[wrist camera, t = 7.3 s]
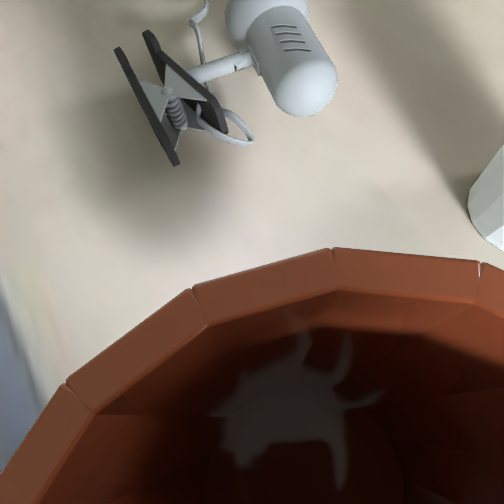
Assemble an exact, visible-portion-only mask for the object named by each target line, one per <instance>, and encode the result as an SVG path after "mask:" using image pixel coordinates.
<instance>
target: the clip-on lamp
mask: <svg viewBox="0 0 504 504" xmlns="http://www.w3.org/2000/svg"><path fill="white" fill-rule="evenodd" d="M204 1H205V6H204V8H203V9H202V10H201V11H200V12H199V13H197V14H196V15H194V16H192V17H191V18H189V20H188V22H189V26H190V27H191V28H193V29H194V31H195V33H196V37H197V41H198V47H199V54H200V61H201V65H199V66H196V67H194V68H191V69H188V70H183V69H182V68H181V67H180V66H179V65H178V64H177V63H175V62H174V61H173V60H172V59H171V58H170V57H168V56H167V55H166V54H165V53H164V52H163V51H162V50H161V48H160V45H159V42H158V40H157V38H156V37H155V35H154V34H153V33H152V32H151V31H150V30H146V31H144V32H142V35H143V38H144V40H145V42H146V45H147V47H148V50H149V52H150V55H151V57H152V59H153V62H154V64H155V67H156V69H157V72H158V74H159V77H160V79H161V81H162V84H163V87H161V86H158V85H155V84H152V83H149V82H146V81H143V80H140V79H137V77H136V76H135V74H134V72H133V70H132V68H131V66H130V64H129V62H128V60H127V58H126V56H125V54H124V52H123V51H122V49H121V48H120V46H119V47H117V48H115V49H113V50H114V52H115V54H116V56H117V58H118V60H119V62H120V64H121V66H122V69H123V71H124V73H125V75H126V77H127V79H128V81H129V83H130V85H131V87H132V89H133V91H134V93H135V95H136V97H137V99H138V101H139V103H140V105H141V107H142V109H143V110H144V112H145V114H146V115H147V117H148V120H149V122H150V124H151V126H152V128H153V130H154V132H155V134H156V136H157V138H158V140H159V142H160V144H161V145H162V147H163V149H164V151H165V152H166V154H167V156H168V158H169V160H170V161H171V163H172V165H173V167H175V166H177V165H179V164H181V163H180V161H179V159H178V156H177V154H176V152H175V151H176V148H177V145H178V142H179V138H180V135H181V132H182V131H184V130H186V129H190V130H196V131H203V132H209V133H210V134H211V135H213V136H215V137H216V138H218V139H220V140H222V141H224V142H227V143H230V144H233V145H238V146H249V145H251V144H252V143H253V142H254V136H253V134H252V132H251V131H250V129H249V128H248V127H247V125H246V124H245V123H244V122H243V121H242V120H241V119H240V118H239V117H238V116H237V115H236V114H235V113H233V112H232V111H230V110H227V109H224V108H222V107H221V106H220V104H219V102H218V101H217V99H216V98H215V97H214V96H213V93H212V90H211V87H210V84H209V80H212V79H215V78H218V77H221V76H224V75H227V74H230V73H233V72H235V71H238V70H241V69H244V68H247V67H249V66H252V65H253V66H254V68H255V70H256V72H257V74H258V76H260V75H261V76H262V78H263V80H264V82H265V84H266V86H267V88H268V89H269V91H270V93H271V95H272V97H273V99H274V101H275V103H276V105H277V106H278V107H279V108H280V109H281V110H282V111H284V112H285V113H286V114H289V115H291V116H294V117H307V116H312V115H314V114H316V113H318V112H320V111H321V110H323V109H324V108H325V107H326V106H327V105H328V104H329V103H330V101H331V100H332V98H333V96H334V94H335V92H336V87H337V81H338V75H337V70H336V67H335V66H334V64H333V62H332V61H331V59H330V57H329V56H328V54H327V53H326V51H325V49H324V48H323V46H322V44H321V43H320V41H319V40H318V38H317V36H316V35H315V33H314V31H313V30H312V28H311V27H310V25H309V23H308V19H309V9H308V5H307V0H228V1H227V5H226V9H225V22H226V30H227V32H228V35H229V37H230V40H231V42H232V44H233V45H234V47H235V48H236V49H237V50H238V51H239V52H237V53H234V54H231V55H228V56H225V57H223V58H220V59H217V60H214V61H211V62H208V63H205V59H204V51H203V45H202V38H201V34H200V30H199V27H198V25H197V23H198V22H200V21H201V20H202V19H203V18H204V17H205V16H206V15H207V12H208V10H209V2H208V0H204ZM240 53H241V54H240ZM201 83H205V87H206V89H205V88H204V87H203V86H202V85H201ZM164 111H165V112H166V113H167V116H165V115H163V114H164ZM225 118H228V119H230V120H232V121H233V122H234V123H236V124H237V125H238V126H239V127H240V128H241V130H242V131H243V132H244V133H245V135H246V136H247V138H248V140H249V141H244V140H240V139H236V138H233V137H230V136H228V135H226V134H227V133H228V128H227V124H226V121H225Z"/></svg>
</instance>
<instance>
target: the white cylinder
mask: <svg viewBox="0 0 504 504" xmlns="http://www.w3.org/2000/svg"><path fill="white" fill-rule="evenodd" d="M467 207H468V210H469V214H470V217H471V221H472V224H473V225H474V226H475V227H476V229H477V230H478V231H479V233H480V234H481V235H482V237H483V238H484V239H485V240H487V241H488V242H490V243H491V244H493V245H494V246H496V247H497V248H499V249H500V250H502V251H504V144H503V145H502V147H501V148H500V149H499V151H498V152H497V153H496V155H495V156H494V157H493V159H492V160H491V161H490V163H489V164H488V165H487V167H486V168H485V169H484V171H483V172H482V173H481V175H480V176H479V178H478V179H477V180H476V182H475V183H474V184H473V186H472V187H471V188H470V191H469V198H468V204H467Z"/></svg>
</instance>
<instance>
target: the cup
mask: <svg viewBox="0 0 504 504" xmlns="http://www.w3.org/2000/svg"><path fill="white" fill-rule="evenodd" d="M0 504H504V271H503V270H501V269H499V268H497V267H495V266H493V265H490V264H488V263H484V262H482V263H481V264H480V262H479V261H477V260H467V259H456V258H446V257H435V256H425V255H414V254H403V253H393V252H382V251H372V250H361V249H351V248H340V247H335V248H332V249H331V250H330V248H324V249H320V250H316V251H313V252H309V253H306V254H302V255H299V256H295V257H291V258H288V259H284V260H281V261H277V262H274V263H270V264H267V265H263V266H259V267H256V268H252V269H249V270H245V271H242V272H238V273H234V274H231V275H227V276H224V277H220V278H217V279H213V280H209V281H206V282H202V283H199V284H196V285H194V286H193V287H192V289H191V288H188V289H185V290H184V291H183V292H181V293H180V294H179V295H177V296H176V297H175V298H173V299H172V300H171V301H169V302H168V303H167V304H165V305H164V306H163V307H161V308H160V309H159V310H157V311H156V312H155V313H153V314H152V315H151V316H149V317H148V318H147V319H145V320H144V321H143V322H141V323H140V324H139V325H137V326H136V327H134V328H133V329H132V330H130V331H129V332H128V333H126V334H125V335H124V336H122V337H121V338H120V339H118V340H117V341H116V342H114V343H113V344H112V345H110V346H109V347H108V348H106V349H105V350H104V351H102V352H101V353H100V354H98V355H97V356H96V357H94V358H93V359H92V360H90V361H89V362H88V363H86V364H85V365H84V366H82V367H81V368H80V369H78V370H77V371H75V372H74V373H73V374H71V375H70V376H69V377H68V378H67V379H66V383H63V384H62V385H60V386H59V388H58V389H57V391H56V392H55V394H54V395H53V397H52V398H51V400H50V401H49V403H48V404H47V406H46V407H45V409H44V410H43V411H42V413H41V414H40V416H39V417H38V419H37V420H36V422H35V423H34V425H33V426H32V428H31V429H30V431H29V432H28V434H27V435H26V437H25V438H24V440H23V441H22V443H21V444H20V446H19V447H18V449H17V450H16V452H15V453H14V455H13V456H12V458H11V459H10V460H9V462H8V463H7V465H6V466H5V468H4V469H3V471H2V472H1V474H0Z"/></svg>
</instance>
